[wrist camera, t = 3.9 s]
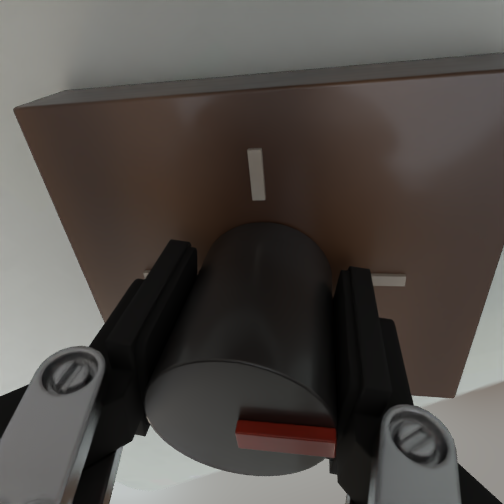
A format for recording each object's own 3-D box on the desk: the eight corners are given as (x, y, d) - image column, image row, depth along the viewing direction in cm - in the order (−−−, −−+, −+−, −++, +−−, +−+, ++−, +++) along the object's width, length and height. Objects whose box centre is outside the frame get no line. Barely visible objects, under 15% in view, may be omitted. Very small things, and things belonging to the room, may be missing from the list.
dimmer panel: (149, 333, 18) (124, 379, 16) (63, 90, 12) (6, 109, 10) (437, 347, 15) (456, 403, 13) (512, 51, 10) (568, 65, 7)
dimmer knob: (215, 321, 13) (162, 479, 9) (194, 222, 11) (110, 367, 7) (330, 325, 12) (335, 501, 8) (333, 220, 10) (342, 382, 6)
